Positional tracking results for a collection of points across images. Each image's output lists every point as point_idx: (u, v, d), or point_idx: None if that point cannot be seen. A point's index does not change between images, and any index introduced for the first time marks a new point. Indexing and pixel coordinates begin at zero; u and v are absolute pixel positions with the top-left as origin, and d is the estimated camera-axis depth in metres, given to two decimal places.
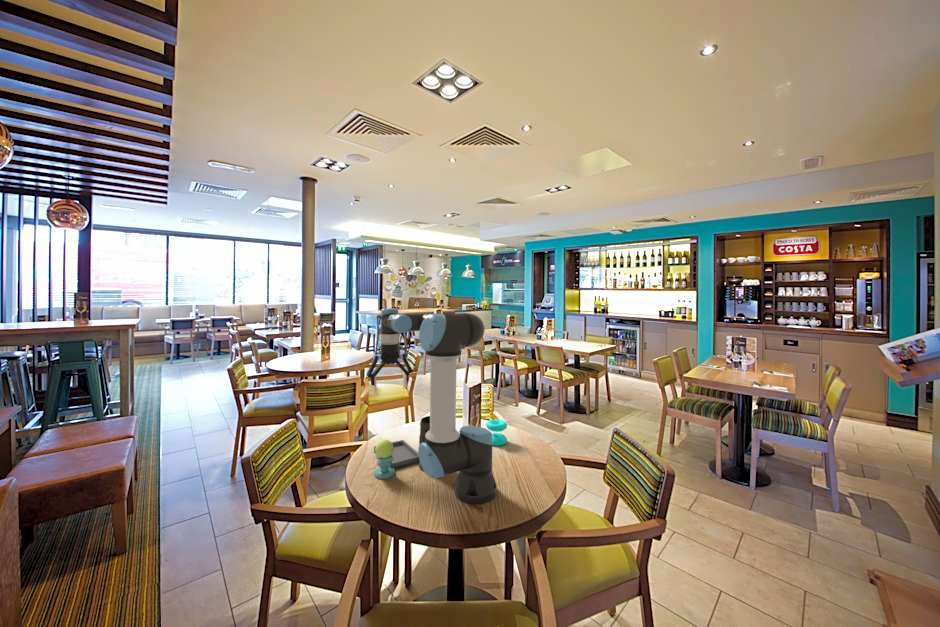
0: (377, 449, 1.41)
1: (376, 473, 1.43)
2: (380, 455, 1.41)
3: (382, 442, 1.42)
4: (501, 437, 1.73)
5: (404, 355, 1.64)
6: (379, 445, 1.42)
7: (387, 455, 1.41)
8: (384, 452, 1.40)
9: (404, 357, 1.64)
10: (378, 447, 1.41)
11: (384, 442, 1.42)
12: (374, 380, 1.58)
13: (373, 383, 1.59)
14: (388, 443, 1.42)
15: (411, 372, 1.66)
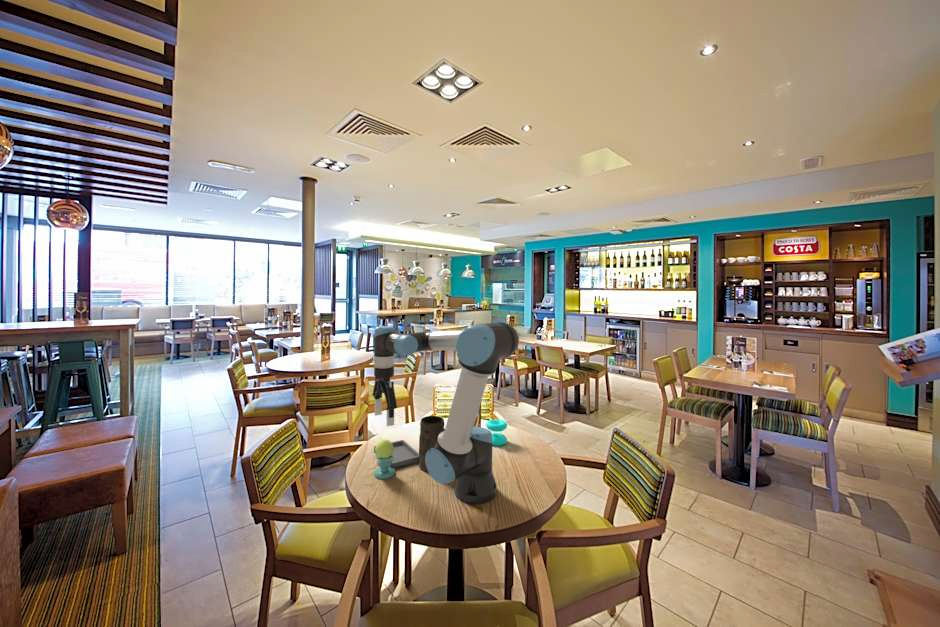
0: (377, 449, 1.41)
1: (376, 473, 1.43)
2: (380, 455, 1.41)
3: (382, 442, 1.42)
4: (501, 437, 1.73)
5: (386, 384, 1.36)
6: (379, 445, 1.42)
7: (387, 455, 1.41)
8: (384, 452, 1.40)
9: (387, 387, 1.36)
10: (378, 447, 1.41)
11: (384, 442, 1.42)
12: None
13: None
14: (388, 443, 1.42)
15: (390, 408, 1.34)
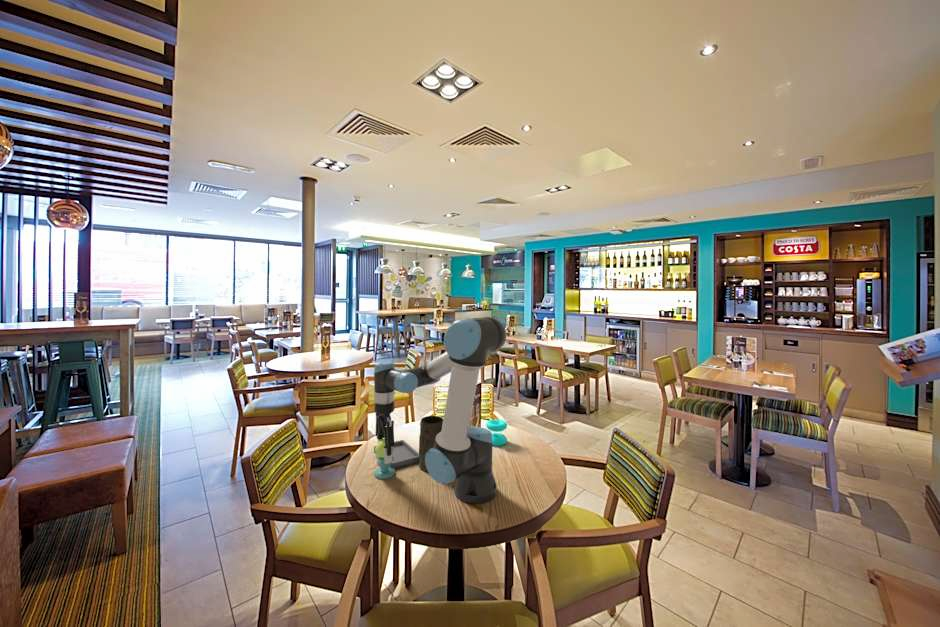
0: (377, 449, 1.41)
1: (376, 473, 1.43)
2: (380, 455, 1.41)
3: (382, 442, 1.42)
4: (501, 437, 1.73)
5: (387, 424, 1.37)
6: (379, 445, 1.42)
7: None
8: None
9: (386, 426, 1.38)
10: (378, 447, 1.41)
11: (384, 442, 1.42)
12: None
13: None
14: None
15: (387, 447, 1.37)
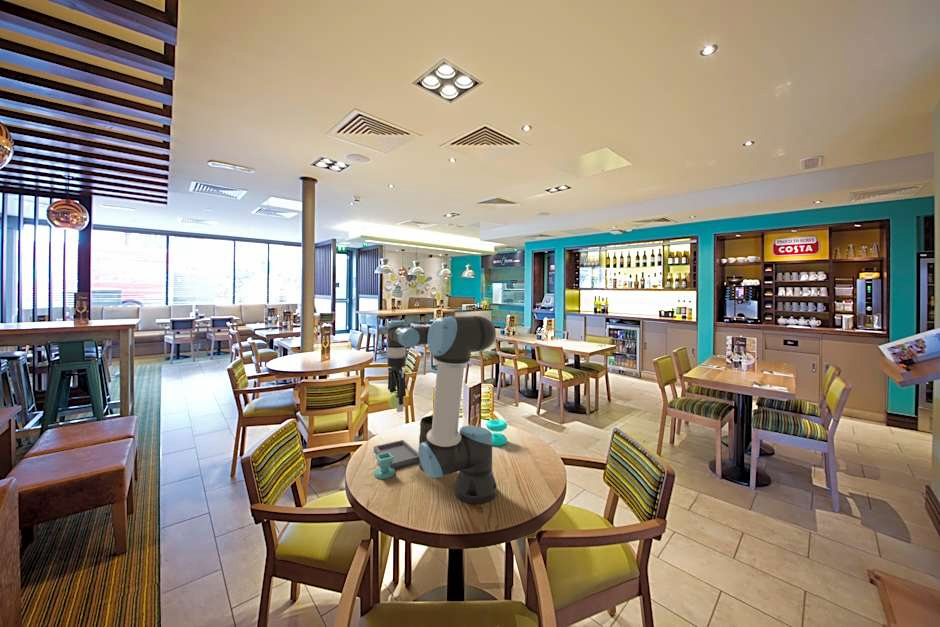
0: (390, 399, 1.56)
1: (376, 473, 1.43)
2: (393, 404, 1.55)
3: (394, 393, 1.57)
4: (501, 437, 1.73)
5: (399, 375, 1.52)
6: (392, 396, 1.56)
7: None
8: (396, 402, 1.55)
9: (399, 377, 1.52)
10: (391, 397, 1.56)
11: (396, 393, 1.57)
12: None
13: None
14: None
15: (399, 396, 1.52)
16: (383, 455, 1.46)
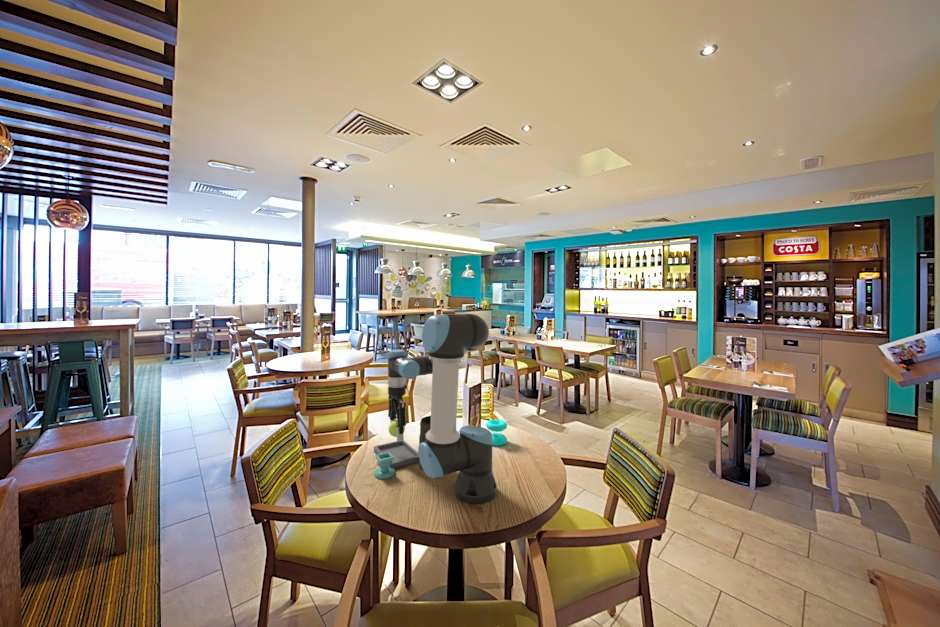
0: (390, 428, 1.57)
1: (376, 473, 1.43)
2: (393, 433, 1.56)
3: (394, 422, 1.58)
4: (501, 437, 1.73)
5: (399, 405, 1.53)
6: (392, 424, 1.57)
7: None
8: (396, 431, 1.56)
9: (399, 407, 1.53)
10: (391, 426, 1.57)
11: (396, 422, 1.58)
12: None
13: None
14: None
15: (400, 426, 1.53)
16: (383, 455, 1.46)
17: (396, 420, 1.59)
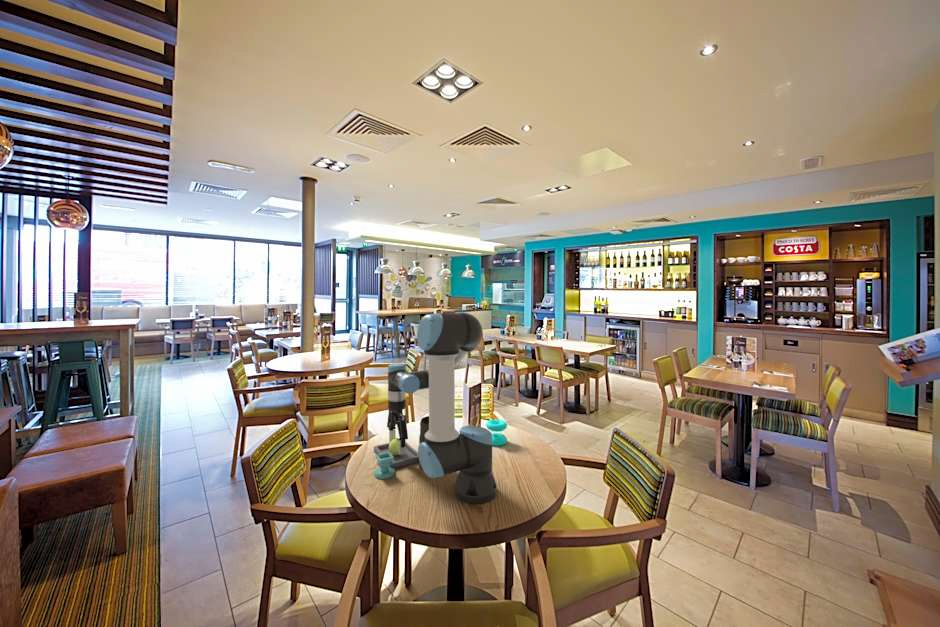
0: (390, 447, 1.57)
1: (376, 473, 1.43)
2: (393, 452, 1.56)
3: (395, 440, 1.58)
4: (501, 437, 1.73)
5: (400, 418, 1.53)
6: (392, 443, 1.57)
7: None
8: (397, 449, 1.56)
9: (399, 420, 1.53)
10: (391, 445, 1.57)
11: (397, 440, 1.58)
12: None
13: None
14: None
15: (402, 439, 1.52)
16: (383, 455, 1.46)
17: (396, 438, 1.59)
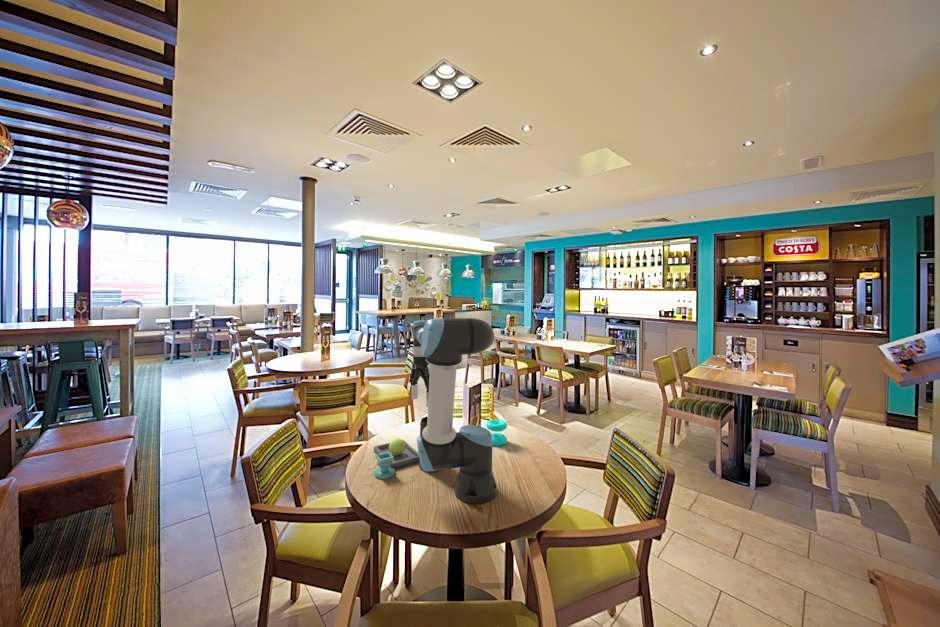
0: (390, 447, 1.57)
1: (376, 473, 1.43)
2: (393, 452, 1.56)
3: (395, 440, 1.58)
4: (501, 437, 1.73)
5: (426, 370, 1.57)
6: (392, 443, 1.57)
7: (399, 452, 1.57)
8: (397, 449, 1.56)
9: (426, 372, 1.57)
10: (391, 445, 1.57)
11: (397, 440, 1.58)
12: None
13: (412, 389, 1.69)
14: (400, 441, 1.58)
15: None
16: (383, 455, 1.46)
17: (396, 438, 1.59)
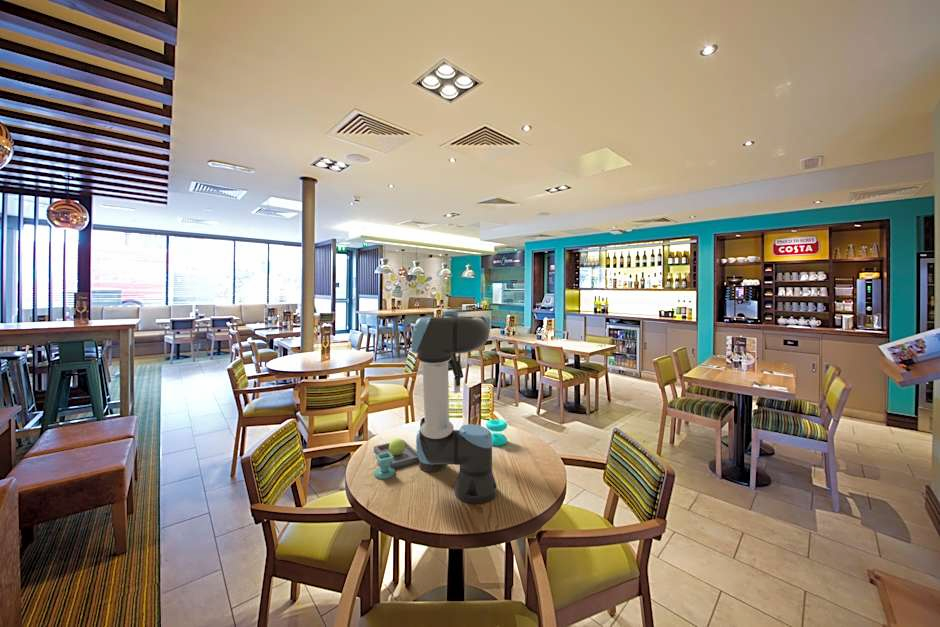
0: (390, 447, 1.57)
1: (376, 473, 1.43)
2: (393, 452, 1.56)
3: (395, 440, 1.58)
4: (501, 437, 1.73)
5: (454, 358, 1.63)
6: (392, 443, 1.57)
7: (399, 452, 1.57)
8: (397, 449, 1.56)
9: (454, 360, 1.63)
10: (391, 445, 1.57)
11: (397, 440, 1.58)
12: None
13: None
14: (400, 441, 1.58)
15: (458, 377, 1.61)
16: (383, 455, 1.46)
17: (396, 438, 1.59)
